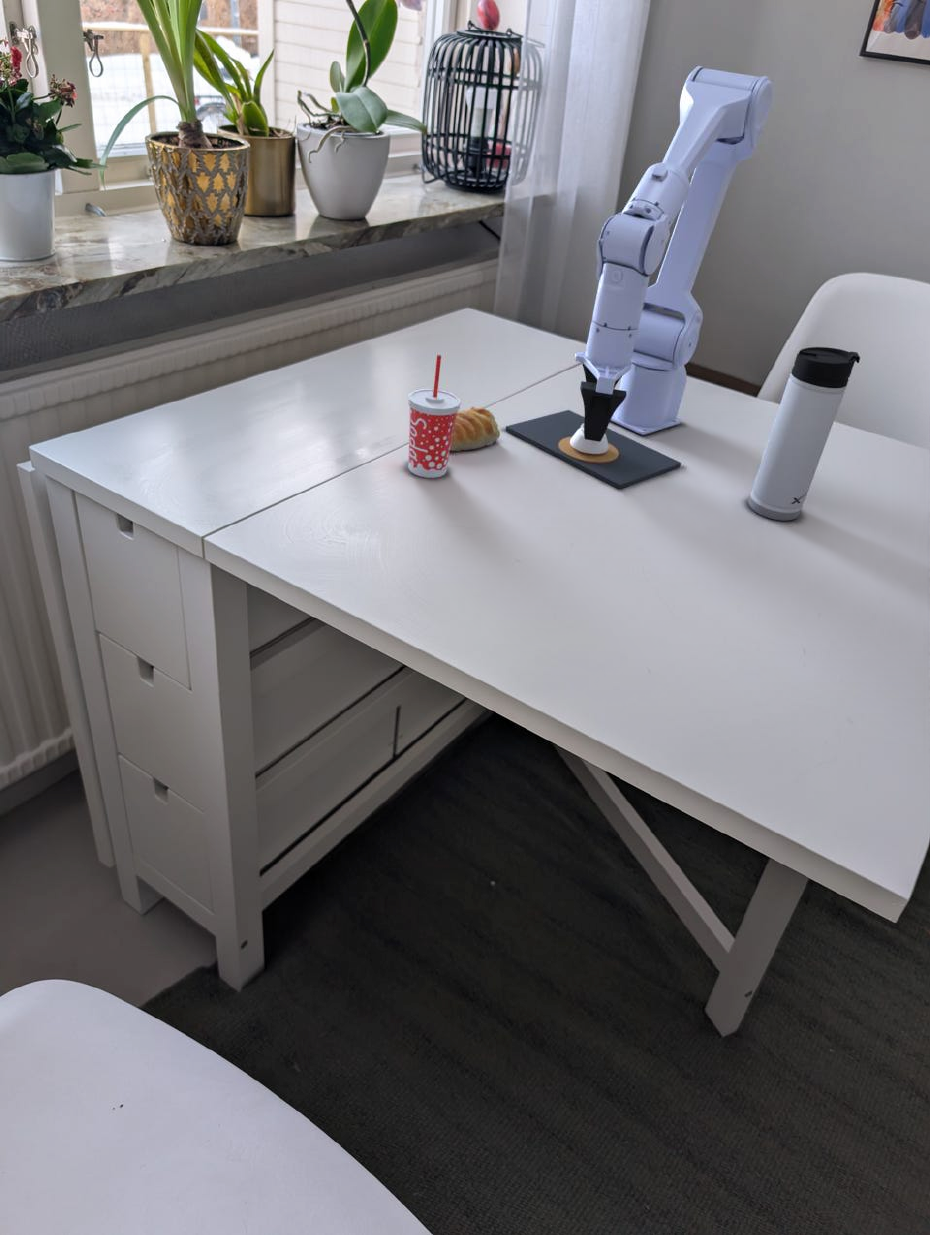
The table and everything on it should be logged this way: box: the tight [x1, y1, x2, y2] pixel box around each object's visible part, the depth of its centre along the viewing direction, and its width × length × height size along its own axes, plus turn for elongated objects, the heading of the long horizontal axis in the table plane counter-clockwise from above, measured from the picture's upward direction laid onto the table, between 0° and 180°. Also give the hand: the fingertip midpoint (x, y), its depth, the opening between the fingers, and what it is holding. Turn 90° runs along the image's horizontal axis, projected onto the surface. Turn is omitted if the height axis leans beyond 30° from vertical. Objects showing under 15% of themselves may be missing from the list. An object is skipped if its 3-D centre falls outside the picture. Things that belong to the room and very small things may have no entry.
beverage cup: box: [407, 354, 462, 479], centre depth 104 cm, size 6×6×14 cm
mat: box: [505, 409, 682, 490], centre depth 119 cm, size 13×20×1 cm, turn 43°
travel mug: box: [748, 346, 861, 522], centre depth 105 cm, size 6×7×20 cm
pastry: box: [450, 406, 501, 452], centre depth 115 cm, size 9×7×4 cm
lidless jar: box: [570, 424, 609, 454], centre depth 116 cm, size 5×3×5 cm
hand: (593, 428), depth 116 cm, fingers open, 7 cm apart
